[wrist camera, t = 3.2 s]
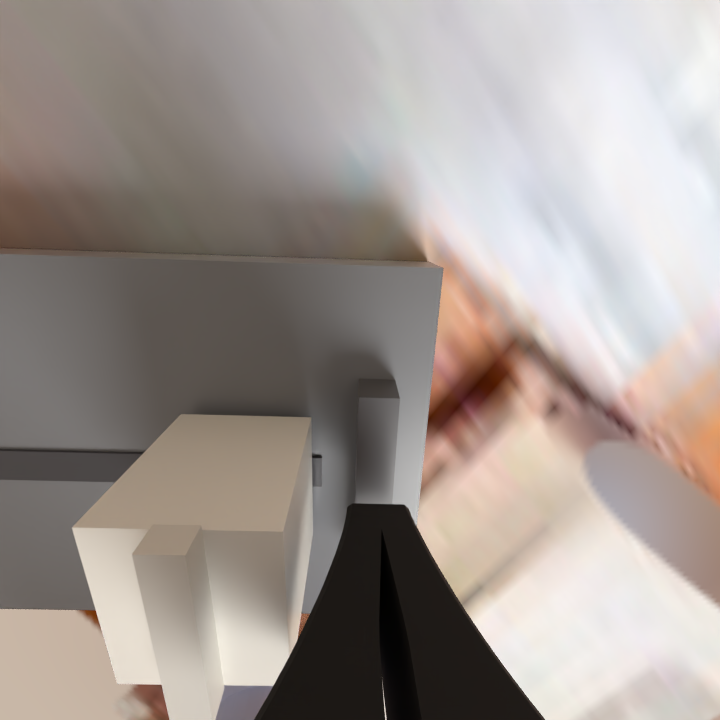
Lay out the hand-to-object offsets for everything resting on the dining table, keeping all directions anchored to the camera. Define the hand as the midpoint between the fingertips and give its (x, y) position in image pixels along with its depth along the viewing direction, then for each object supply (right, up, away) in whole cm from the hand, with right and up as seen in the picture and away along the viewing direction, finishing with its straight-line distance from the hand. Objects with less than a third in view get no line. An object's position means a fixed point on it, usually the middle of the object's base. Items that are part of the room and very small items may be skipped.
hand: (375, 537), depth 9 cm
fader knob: (-3, +1, +2) cm, 4 cm away
